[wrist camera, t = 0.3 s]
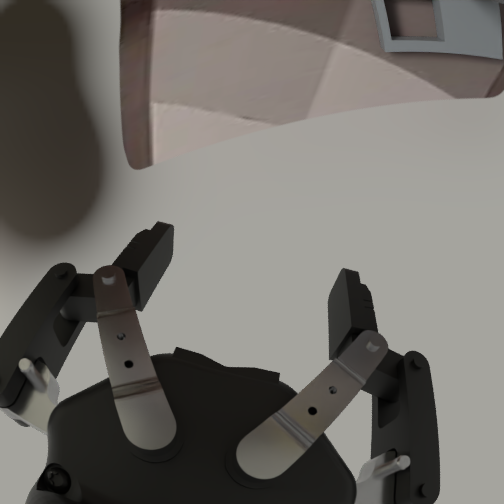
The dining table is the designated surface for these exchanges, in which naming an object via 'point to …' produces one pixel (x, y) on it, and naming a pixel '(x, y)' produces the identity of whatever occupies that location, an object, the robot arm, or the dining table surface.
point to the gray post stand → (450, 29)
